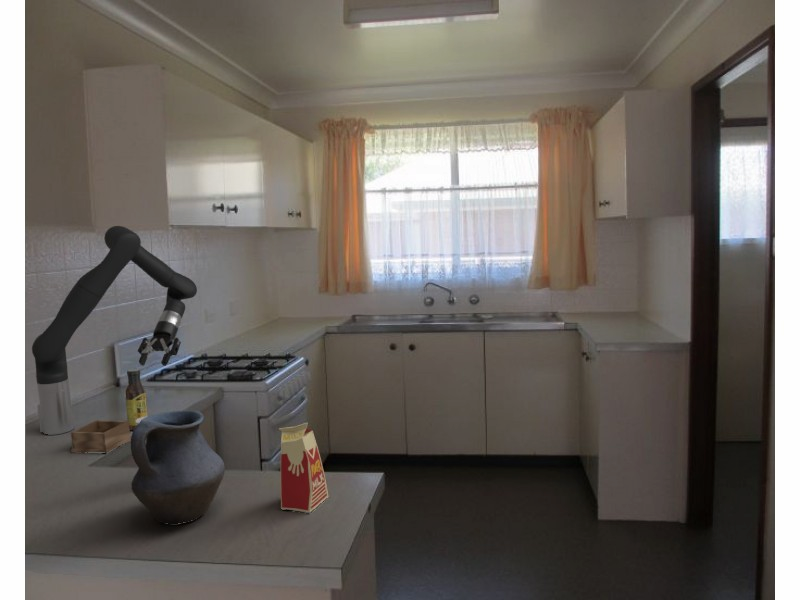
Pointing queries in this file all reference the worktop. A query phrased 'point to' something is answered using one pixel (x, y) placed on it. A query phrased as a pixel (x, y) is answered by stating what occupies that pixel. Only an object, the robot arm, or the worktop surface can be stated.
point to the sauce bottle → (135, 398)
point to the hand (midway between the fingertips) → (152, 364)
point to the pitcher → (174, 466)
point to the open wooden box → (100, 436)
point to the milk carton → (301, 470)
